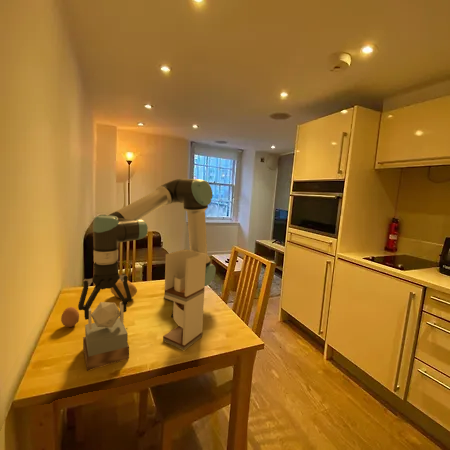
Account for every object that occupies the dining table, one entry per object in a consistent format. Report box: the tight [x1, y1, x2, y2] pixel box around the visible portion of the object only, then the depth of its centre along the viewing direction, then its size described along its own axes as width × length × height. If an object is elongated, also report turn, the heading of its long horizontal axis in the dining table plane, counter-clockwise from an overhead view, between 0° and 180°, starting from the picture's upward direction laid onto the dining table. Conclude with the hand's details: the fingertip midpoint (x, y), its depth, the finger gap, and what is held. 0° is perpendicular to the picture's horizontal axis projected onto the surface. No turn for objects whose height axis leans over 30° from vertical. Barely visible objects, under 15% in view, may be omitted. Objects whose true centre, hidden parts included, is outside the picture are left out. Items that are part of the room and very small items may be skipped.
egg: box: [60, 306, 80, 328], centre depth 109 cm, size 6×6×8 cm
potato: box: [110, 279, 138, 299], centre depth 139 cm, size 10×14×10 cm
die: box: [91, 301, 121, 328], centre depth 91 cm, size 8×9×10 cm
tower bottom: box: [82, 336, 130, 371], centre depth 93 cm, size 13×13×5 cm
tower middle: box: [84, 317, 129, 357], centre depth 92 cm, size 12×12×5 cm
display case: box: [162, 248, 206, 351], centre depth 103 cm, size 11×11×35 cm
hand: (106, 323), depth 92 cm, fingers closed on die, 9 cm apart
